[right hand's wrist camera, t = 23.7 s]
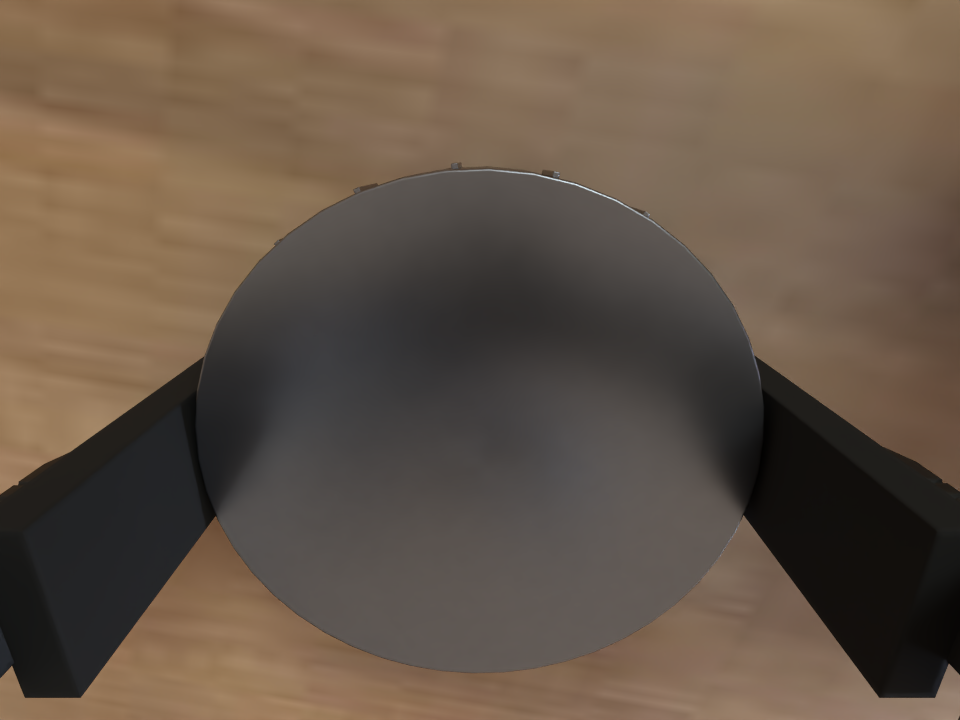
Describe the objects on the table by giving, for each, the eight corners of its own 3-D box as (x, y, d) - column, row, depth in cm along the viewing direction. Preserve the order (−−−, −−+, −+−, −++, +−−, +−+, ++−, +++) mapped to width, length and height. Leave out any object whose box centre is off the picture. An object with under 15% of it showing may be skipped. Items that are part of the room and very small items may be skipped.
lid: (689, 103, 10) (746, 88, 8) (732, 552, 14) (779, 626, 12) (164, 237, 11) (87, 255, 9) (333, 627, 15) (307, 709, 12)
